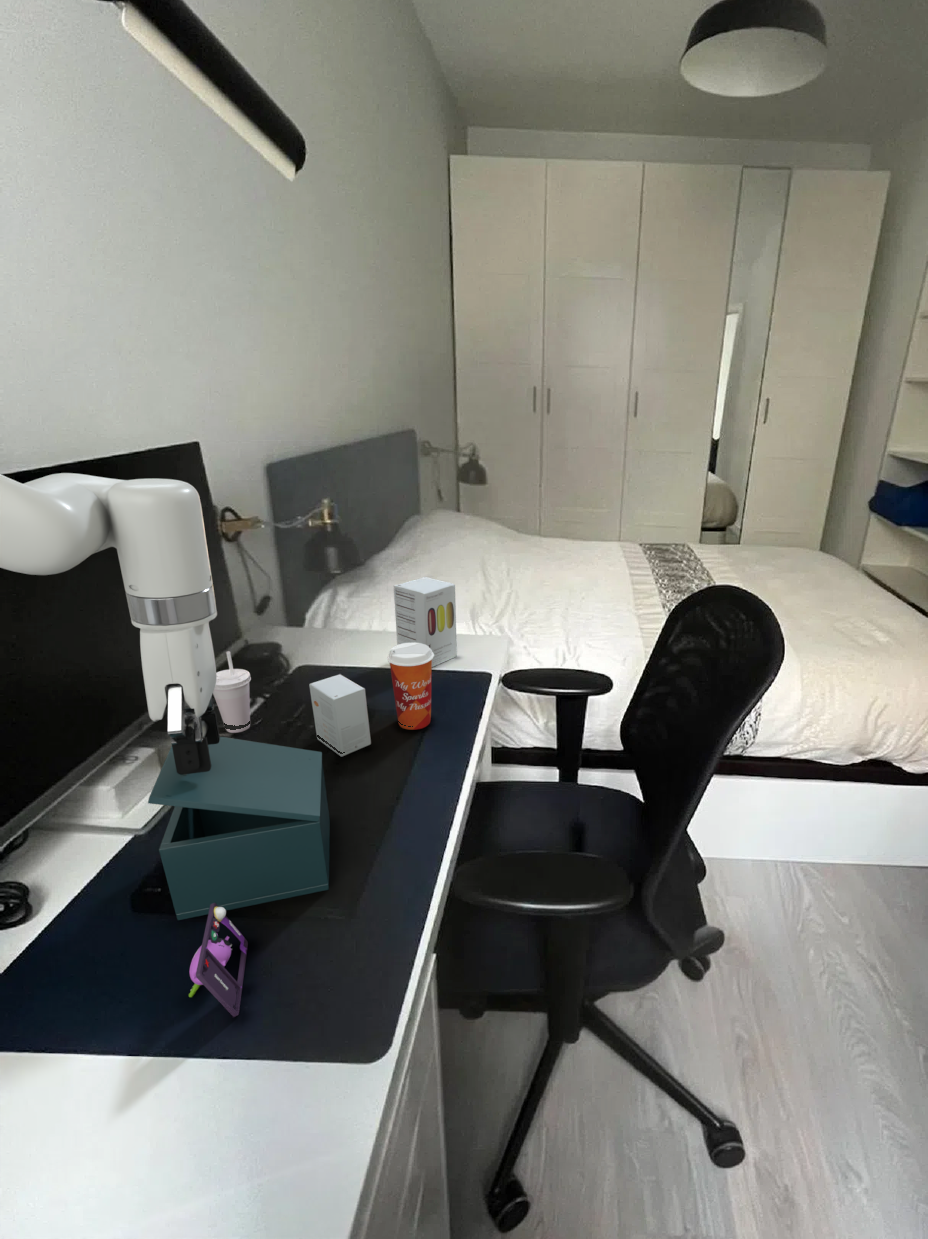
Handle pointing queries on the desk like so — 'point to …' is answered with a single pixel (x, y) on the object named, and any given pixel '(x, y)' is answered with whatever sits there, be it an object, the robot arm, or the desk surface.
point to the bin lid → (246, 780)
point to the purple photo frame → (218, 962)
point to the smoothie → (233, 696)
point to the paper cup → (412, 683)
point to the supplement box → (427, 616)
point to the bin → (243, 858)
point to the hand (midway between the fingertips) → (199, 756)
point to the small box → (340, 714)
